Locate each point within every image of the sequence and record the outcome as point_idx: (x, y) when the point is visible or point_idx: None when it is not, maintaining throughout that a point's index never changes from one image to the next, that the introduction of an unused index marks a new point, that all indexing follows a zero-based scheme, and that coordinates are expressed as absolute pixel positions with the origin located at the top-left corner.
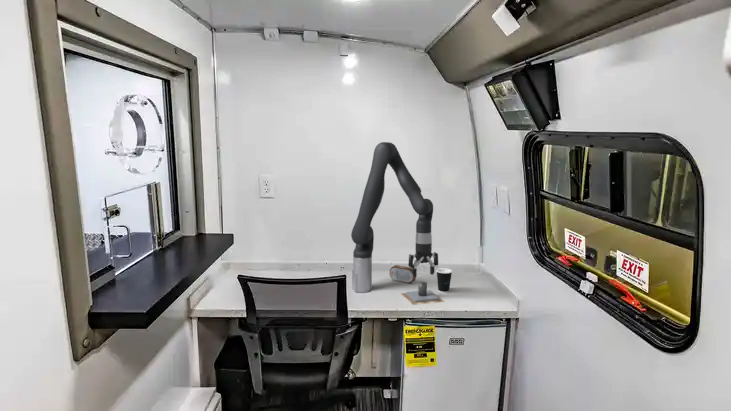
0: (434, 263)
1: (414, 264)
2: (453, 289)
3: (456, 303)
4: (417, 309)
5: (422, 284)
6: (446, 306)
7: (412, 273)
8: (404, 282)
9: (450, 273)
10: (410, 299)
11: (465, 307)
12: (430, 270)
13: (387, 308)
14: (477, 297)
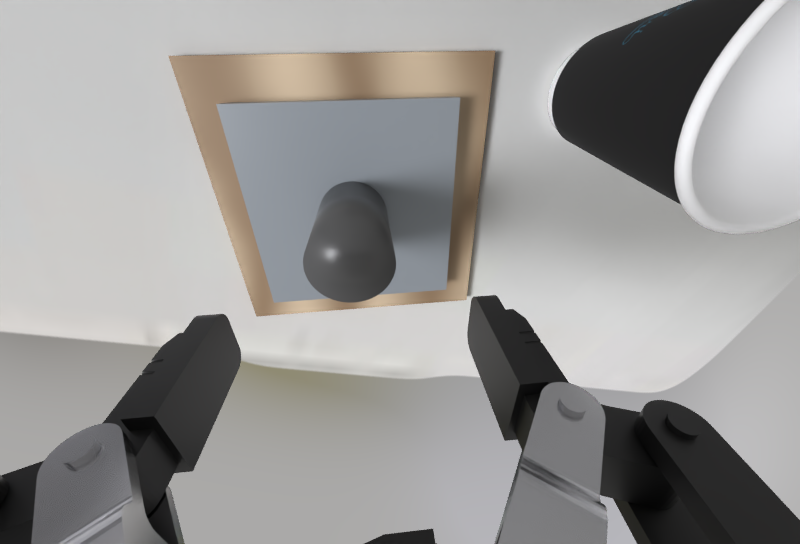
0: (608, 490)
1: (85, 519)
2: None
3: None
4: (276, 355)
5: (335, 298)
6: (441, 341)
7: (162, 350)
8: None
9: (783, 204)
10: (252, 230)
11: None
12: (488, 335)
13: (85, 324)
14: (687, 255)
